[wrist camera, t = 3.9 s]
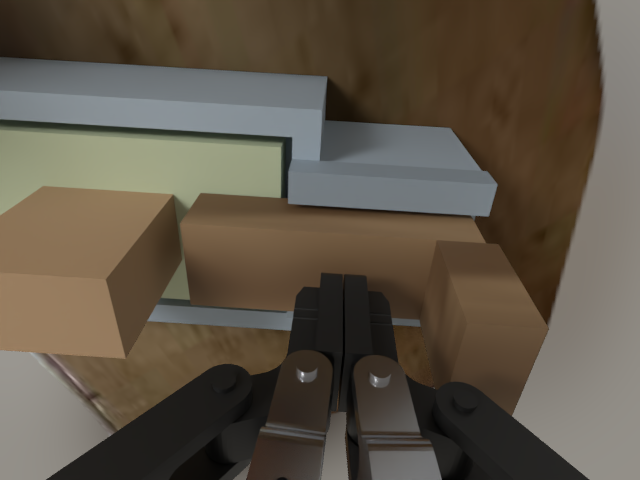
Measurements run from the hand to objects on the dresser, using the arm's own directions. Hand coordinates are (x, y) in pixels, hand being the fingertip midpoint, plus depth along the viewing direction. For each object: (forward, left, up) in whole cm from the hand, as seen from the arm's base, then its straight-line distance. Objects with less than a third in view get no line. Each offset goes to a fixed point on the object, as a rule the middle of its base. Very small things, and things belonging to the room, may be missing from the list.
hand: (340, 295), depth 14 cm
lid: (0, -9, -5) cm, 10 cm away
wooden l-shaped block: (0, 0, -3) cm, 3 cm away
